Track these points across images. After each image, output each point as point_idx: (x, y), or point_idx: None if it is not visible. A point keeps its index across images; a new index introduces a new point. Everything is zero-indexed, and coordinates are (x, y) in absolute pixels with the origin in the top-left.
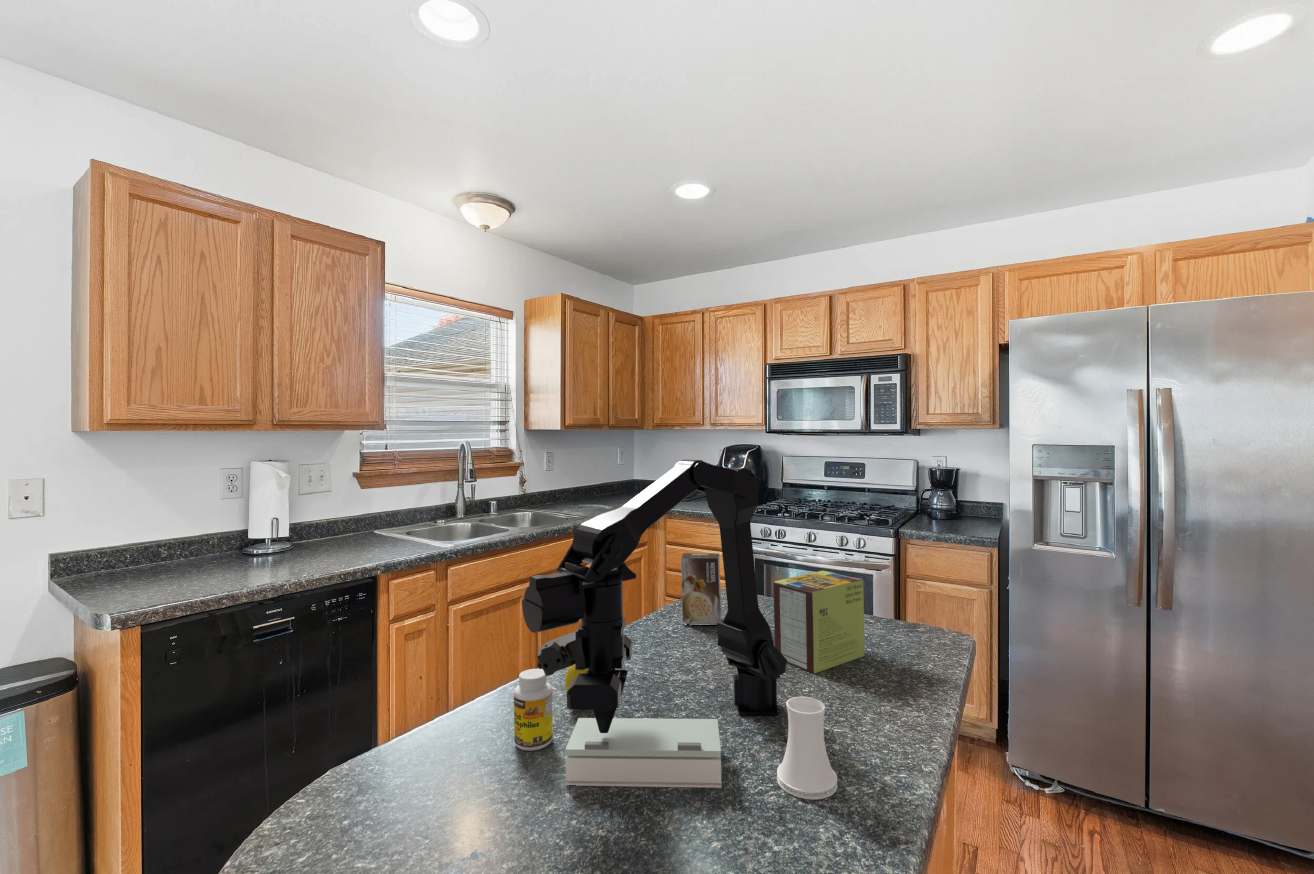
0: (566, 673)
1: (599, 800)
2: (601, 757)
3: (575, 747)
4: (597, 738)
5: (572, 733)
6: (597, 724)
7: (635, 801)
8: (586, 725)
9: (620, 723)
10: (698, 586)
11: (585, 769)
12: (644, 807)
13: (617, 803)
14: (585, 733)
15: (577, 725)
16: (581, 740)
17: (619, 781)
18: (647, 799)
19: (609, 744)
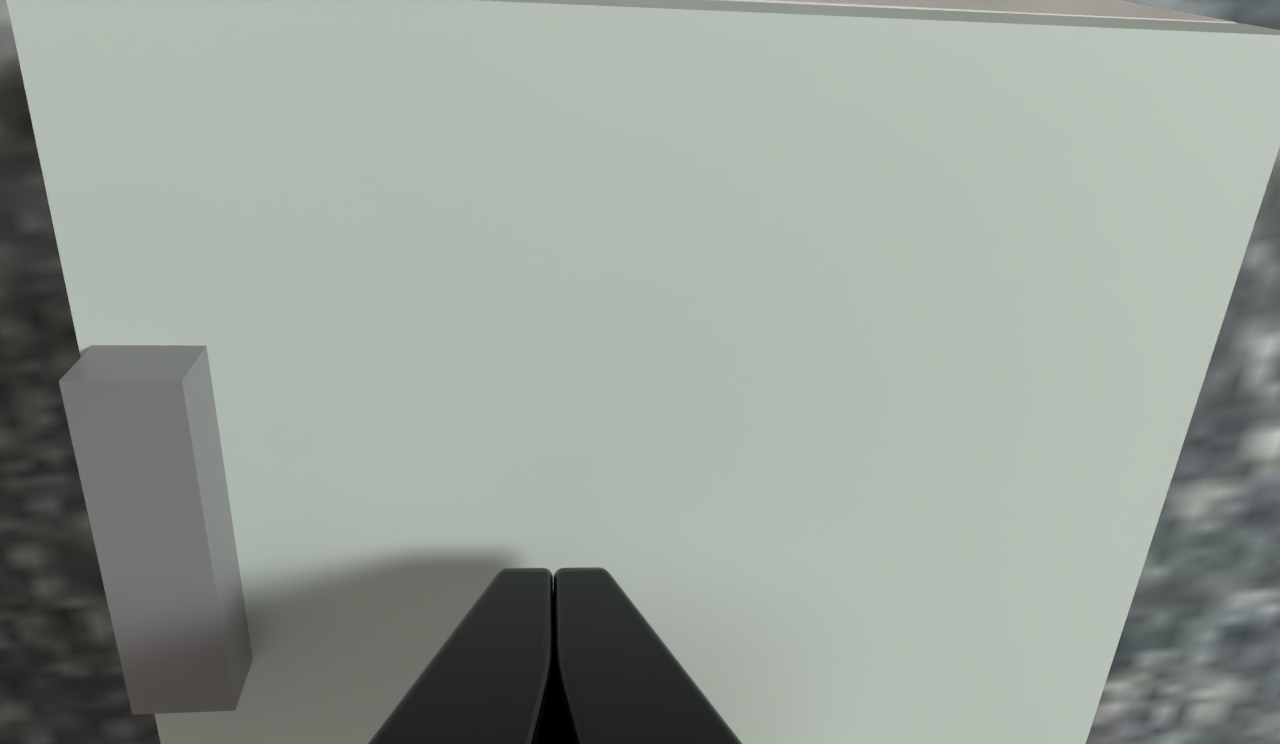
0: None
1: (21, 357)
2: None
3: (117, 174)
4: (484, 482)
5: (684, 18)
6: (436, 654)
7: (82, 644)
8: (975, 236)
9: (946, 699)
10: None
11: None
12: (16, 710)
13: (16, 515)
14: (668, 268)
15: (1001, 68)
16: (409, 238)
17: None
18: (131, 721)
19: (315, 659)
